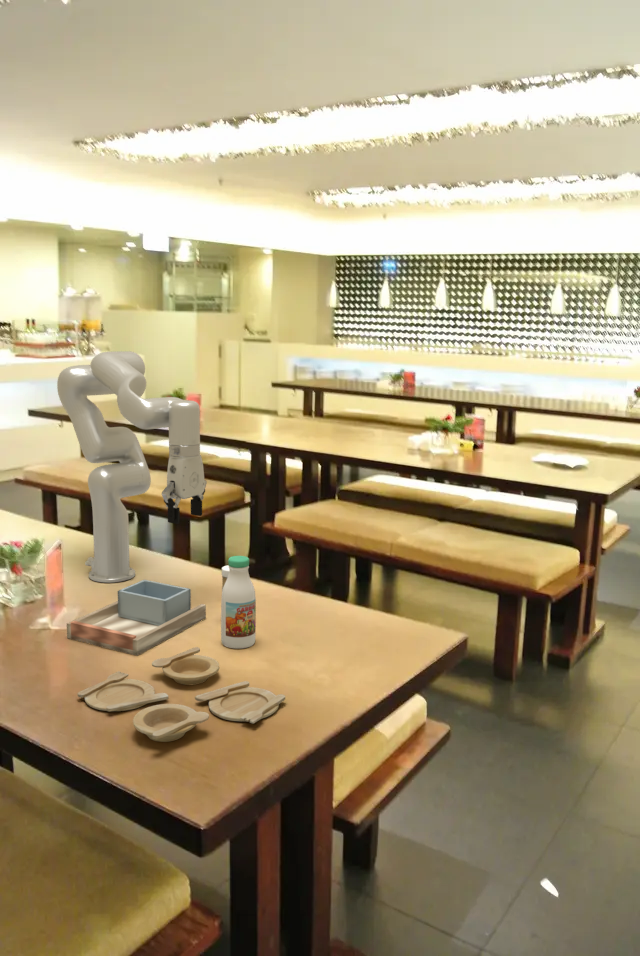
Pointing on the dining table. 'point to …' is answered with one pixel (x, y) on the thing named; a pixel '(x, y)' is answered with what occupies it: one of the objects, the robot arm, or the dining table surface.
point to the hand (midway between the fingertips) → (185, 518)
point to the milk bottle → (238, 606)
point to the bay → (128, 629)
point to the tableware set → (176, 718)
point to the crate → (153, 602)
